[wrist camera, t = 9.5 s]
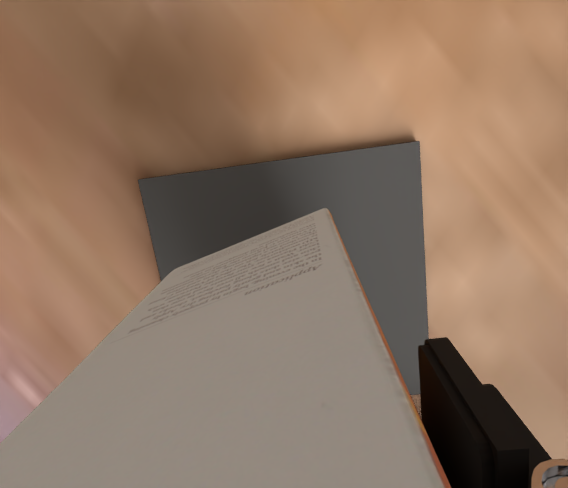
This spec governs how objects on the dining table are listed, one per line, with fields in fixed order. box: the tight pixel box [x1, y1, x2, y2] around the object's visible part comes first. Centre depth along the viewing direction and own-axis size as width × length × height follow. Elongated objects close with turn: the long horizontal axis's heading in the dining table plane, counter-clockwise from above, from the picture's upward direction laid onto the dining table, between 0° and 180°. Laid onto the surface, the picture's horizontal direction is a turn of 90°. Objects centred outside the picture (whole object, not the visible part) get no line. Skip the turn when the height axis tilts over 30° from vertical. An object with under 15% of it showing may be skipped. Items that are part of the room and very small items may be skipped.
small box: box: [0, 208, 451, 488], centre depth 9 cm, size 8×6×13 cm
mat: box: [138, 141, 429, 395], centre depth 18 cm, size 12×12×1 cm
